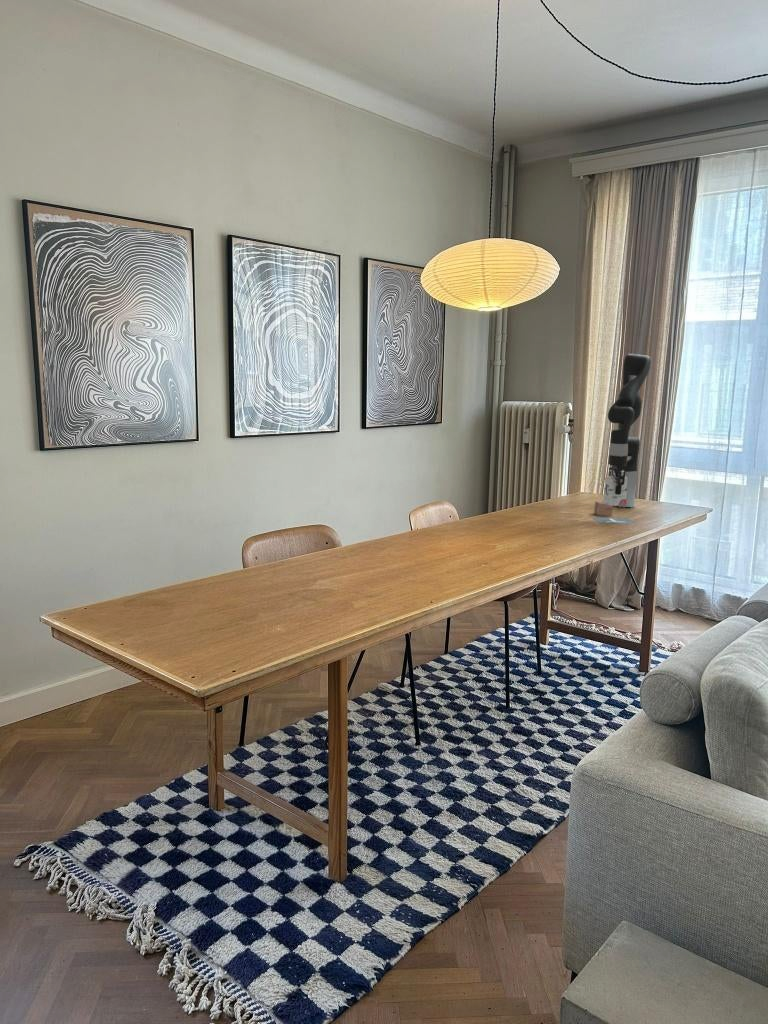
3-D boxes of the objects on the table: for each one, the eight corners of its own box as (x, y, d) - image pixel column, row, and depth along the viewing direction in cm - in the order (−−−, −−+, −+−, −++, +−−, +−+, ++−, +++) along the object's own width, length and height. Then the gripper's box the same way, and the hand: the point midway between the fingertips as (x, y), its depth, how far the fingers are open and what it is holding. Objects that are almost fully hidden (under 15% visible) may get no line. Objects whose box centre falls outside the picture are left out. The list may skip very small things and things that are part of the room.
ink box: (618, 502, 334) (620, 475, 332) (626, 504, 330) (628, 477, 327) (602, 503, 331) (604, 476, 328) (610, 505, 326) (612, 477, 324)
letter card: (589, 517, 339) (589, 516, 339) (625, 517, 340) (625, 517, 339) (600, 524, 323) (600, 523, 323) (638, 525, 324) (638, 524, 324)
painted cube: (594, 514, 348) (595, 500, 347) (607, 514, 348) (608, 501, 347) (598, 516, 342) (599, 503, 341) (611, 516, 342) (612, 503, 341)
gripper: (604, 452, 333) (601, 490, 336) (615, 455, 319) (612, 495, 322) (621, 452, 333) (618, 490, 336) (633, 456, 319) (629, 496, 322)
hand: (615, 493), depth 329 cm, fingers closed on ink box, 6 cm apart
